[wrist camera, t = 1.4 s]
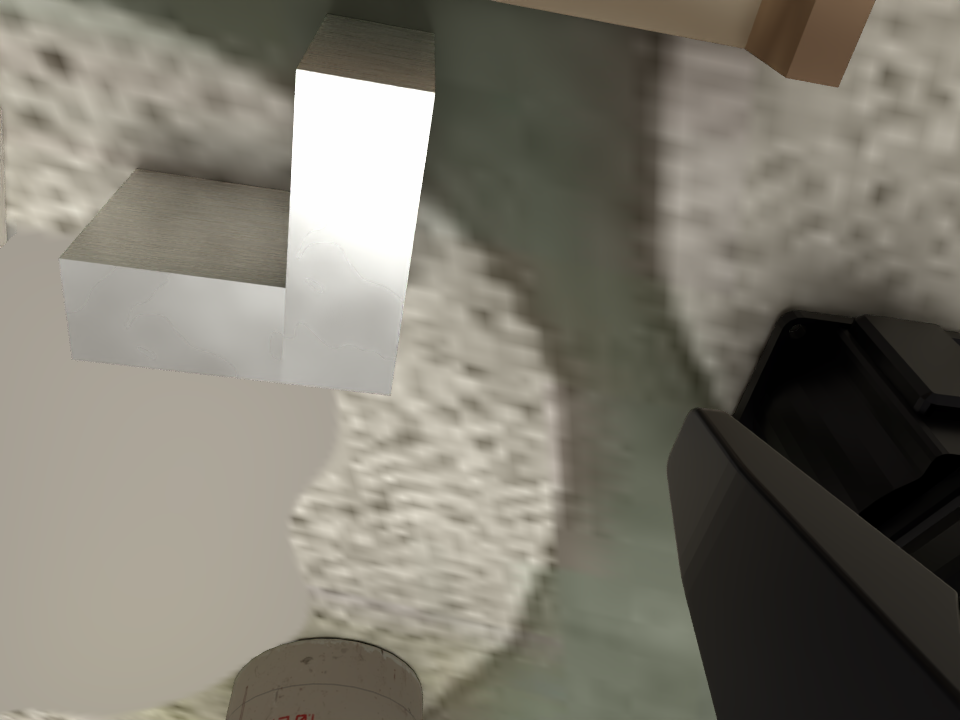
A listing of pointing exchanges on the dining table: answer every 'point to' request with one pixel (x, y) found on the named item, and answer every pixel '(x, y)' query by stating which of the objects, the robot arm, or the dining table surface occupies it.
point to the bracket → (274, 236)
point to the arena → (744, 27)
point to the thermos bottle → (326, 684)
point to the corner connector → (3, 197)
